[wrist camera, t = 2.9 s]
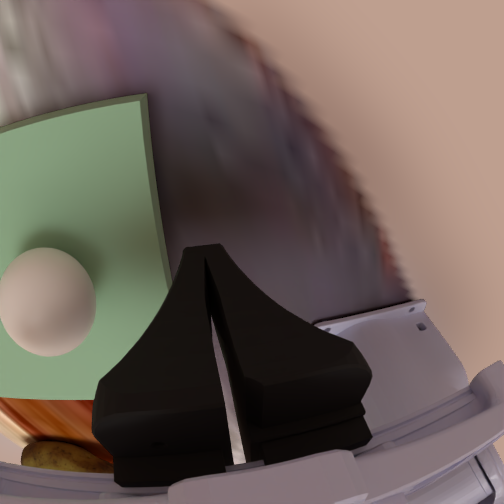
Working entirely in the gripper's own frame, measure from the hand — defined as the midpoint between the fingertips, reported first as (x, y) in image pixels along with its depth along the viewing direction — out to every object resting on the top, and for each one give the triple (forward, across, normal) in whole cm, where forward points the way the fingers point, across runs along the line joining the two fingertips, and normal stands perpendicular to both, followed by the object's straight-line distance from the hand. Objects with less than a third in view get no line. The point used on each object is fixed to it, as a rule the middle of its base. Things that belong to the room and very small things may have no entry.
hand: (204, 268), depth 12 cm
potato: (+4, +17, +25) cm, 30 cm away
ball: (-1, +6, 0) cm, 6 cm away
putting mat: (+4, +12, +2) cm, 12 cm away
